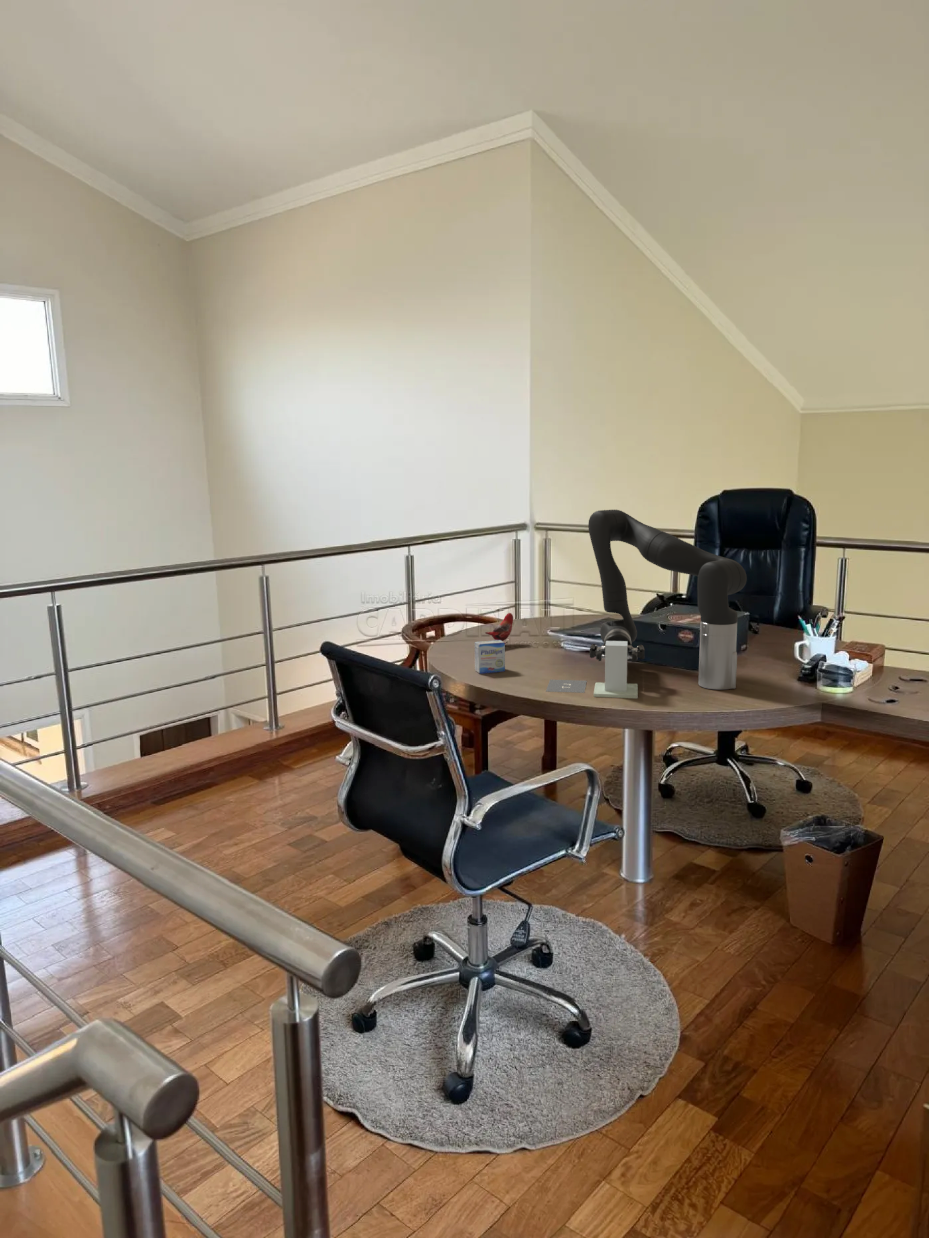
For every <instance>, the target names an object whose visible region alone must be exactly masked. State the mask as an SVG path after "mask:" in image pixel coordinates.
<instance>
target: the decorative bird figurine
mask: <svg viewBox="0 0 929 1238" xmlns="http://www.w3.org/2000/svg"><path fill="white" fill-rule="evenodd" d="M513 624H514V615H513V614H512V612H508V613H507V614H505V616H504V618H503V620H502V621H501V622H500V623H499V624H497V626H496V627H494V629H493V630H492V631H487V632H484V633H485V634H486V635H488V636H489V635H490V636H491V637H492V639H494V641H495V640H501V641H503V642H504V641H506V640H507V639H508V638H509V636H510V635H511V633H512V629H513ZM504 643H505V645H506V644H507V643H508V641H507V642H504Z"/></svg>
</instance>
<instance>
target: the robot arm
mask: <svg viewBox="0 0 929 1238" xmlns="http://www.w3.org/2000/svg"><path fill="white" fill-rule="evenodd" d="M587 525H588V533H589V537H590V543H591V545H592V546H591V547H592V549H593V553H594V556H595V557H594V558H595V561H596V565H597V568H598V573H599V578H600V583H601V585H600V586H601V592H602V601H603V609H604V611H605V612H606V613H610V614H618V615H620V616H621V617H622V619H620V620H619V619H617V620H608V621H605V622H603V623H602V624H601V626H600V631H599V632H600V638H601V641H602V642H603V644H602V645H601V646H598V645H597V644H596V643H592V644H591V645H590V647H589V658H591V659H593V658H595V660H598V662H602V660H603V659H604V660H605V644H606V641H627V660H631V663H635V662H636V661H638V658H639V659H640V660H644V659H645V647H644V645H642V644H639V645H637V646H636V647H633V645H632V643H634V642H635V641H636V639H637V636H638V630H637V627H636V625H635V622H634V619H633V616H632V614H631V612H630V608H629V603H628V602H629V601H628V595H627V593H628V591H627V585H626V580H625V577H624V575H623V574H622V572H621V570H620V568H619V567H618V565H617V563H616V561H615V559H614V556H613V553H612V547H611V542H622V543H625V544H628V545H631V546H632V547H635V548H636V549H637V550H638V552H639V553H640V555H641V556H642V558H643V559H645V560H646V561H647V562H649V563H651V564H653V565H655V566H657V567H660V568H662V569H663V570H667V571H671V572H675V573H679V574H686V575H691V576H694V577H697V608H698V613H699V615H700V624H699V625H700V627H699V630H700V632H699V655H698V657H699V658H698V685H699V686H700V687H702V688H704V689H709V690H729V689H730V690H731V689H736V686H737V665H738V664H737V663H738V652H737V638H738V635H737V634H738V612H737V610H735V609H733V608H731V607H730V606H729V599H728V598H729V595H733V594H736V593H738V592H740V591H742V589H744V588H745V586H746V584H747V580H748V579H747V578H748V577H747V574H746V570H745V569H744V567H743V566H742V565H741V564H740V563H739V562H737V561H736V560H733V559H731V558H727V557H723V556H721V555H718V554H714V553H712V552H708V551H706V550H703V549H701V548H700V547H698V546H697V545H696V546H695V545H693V544H691V543H689V542H687V541H685V540H683V539H681V538H679V537H677V536H675V535H672V534H670V533H668V532H666V531H663V530H660V529H658V528H655V527H654V526H650V525H647V524H646V523H643V522H641V521H639V520H637V519H636V518H634V517H632V516H631V515H630V514H628V513H626V512H625V511H622V510H620V509H604V510H603V509H602V510H596V511H594V512H593V513H591V515H590V516H589V519H588V524H587Z"/></svg>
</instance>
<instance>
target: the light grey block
mask: <svg viewBox="0 0 929 1238" xmlns="http://www.w3.org/2000/svg"><path fill="white" fill-rule="evenodd" d="M604 683H605V691H618V692H627V683H628V659H627V641H606V644H605V659H604Z"/></svg>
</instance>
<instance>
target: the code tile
mask: <svg viewBox="0 0 929 1238" xmlns="http://www.w3.org/2000/svg"><path fill="white" fill-rule="evenodd" d="M587 682H588V680H580V679H579V680H575V679H574V680H573V679H549V682H548V684H547V687H546V689H545V692H548V693H549V692H550V693H551V692H552V693H553V692H554V693H580V694H582V693H583V694H584V693H586V692H585V691H586V687H587Z"/></svg>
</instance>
